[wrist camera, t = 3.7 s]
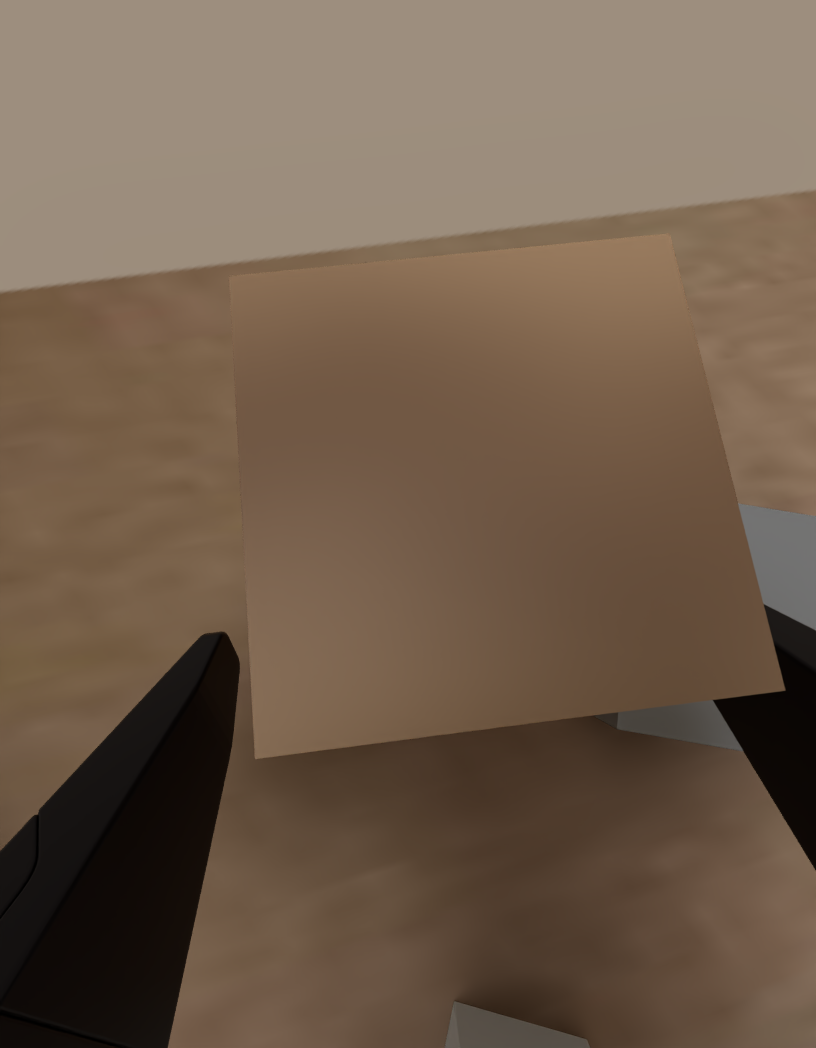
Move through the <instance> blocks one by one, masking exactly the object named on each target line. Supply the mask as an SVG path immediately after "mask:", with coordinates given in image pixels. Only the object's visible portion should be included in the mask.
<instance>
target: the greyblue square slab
mask: <svg viewBox="0 0 816 1048" xmlns="http://www.w3.org/2000/svg"><path fill="white" fill-rule="evenodd" d="M738 505H739V509H740V513H741V517H742V521H743V525H744V529H745V533H746V537H747V541H748V545H749V549H750V553H751V556H752V560H753V564H754V568H755V572H756V576H757V580H758V584H759V588H760V592H761V596H762V600H763V604H765V605H767V606H769V607H771V608H773V609H775V610H777V611H779V612H781V613H783V614H785V615H787V616H789V617H791V618H793V619H795V620H797V621H799V622H801V623H802V624H804V625H806V626H808V627H810V628H812V629H814V630H816V516H811V515H805V514H799V513H793V512H787V511H780V510H774V509H768V508H762V507H756V506H750V505H744V504H738ZM593 716H595V717H597V718H598V719H600V720H602V721H603V722H605V723H607V724H609V725H610V726H612V727H614V728H616V729H618V730H624V731H630V732H635V733H641V734H647V735H653V736H658V737H664V738H670V739H675V740H681V741H687V742H693V743H698V744H704V745H710V746H715V747H721V748H727V749H733V750H738V751H743V750H742V748H741V746H740V745H739V743H738V741H737V740H736V738H735V736H734V735H733V733H732V732H731V730H730V728H729V727H728V725H727V723H726V722H725V720H724V718H723V717H722V715H721V713H720V712H719V710H718V708H717V707H716V705H715V703H714V702H713V700H709V701H701V702H693V703H686V704H678V705H670V706H662V707H655V708H647V709H639V710H631V711H624V712H616V713H608V714H600V715H593Z"/></svg>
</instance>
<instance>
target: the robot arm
mask: <svg viewBox="0 0 816 1048" xmlns="http://www.w3.org/2000/svg"><path fill="white" fill-rule="evenodd" d="M764 608H765V612H766V616H767V620H768V624H769V628H770V631H771V635H772V639H773V643H774V647H775V651H776V655H777V659H778V663H779V667H780V671H781V675H782V679H783V683H784V687H785V691H779V692H771V693H763V694H755V695H748V696H740V697H732V698H724V699H717V700H713V702H714V703H715V705H716V707H717V708H718V710H719V712H720V713H721V715H722V717H723V718H724V720H725V722H726V723H727V725H728V727H729V728H730V730H731V732H732V733H733V735H734V736H735V738H736V740H737V741H738V743H739V745H740V746H741V748H742V750H743V751H744V753H745V755H746V756H747V758H748V760H749V761H750V763H751V765H752V766H753V768H754V769H755V771H756V773H757V774H758V776H759V778H760V779H761V781H762V783H763V784H764V786H765V788H766V789H767V791H768V793H769V794H770V796H771V798H772V799H773V801H774V802H775V804H776V806H777V807H778V809H779V811H780V812H781V814H782V816H783V817H784V819H785V821H786V822H787V824H788V826H789V827H790V829H791V831H792V832H793V834H794V835H795V837H796V839H797V840H798V842H799V844H800V845H801V847H802V849H803V850H804V852H805V854H806V855H807V857H808V859H809V860H810V862H811V864H812V865H813V867H814V868H815V870H816V630H814V629H812V628H810V627H808V626H806V625H804V624H802V623H801V622H799V621H797V620H795V619H793V618H791V617H789V616H787V615H785V614H783V613H781V612H779V611H777V610H775V609H773V608H771V607H769V606H767V605H765V604H764ZM239 673H240V663H239V658H238V656H237V654H236V651H235V649H234V647H233V645H232V643H231V641H230V639H229V636H228V635H227V634H226V633H225V632H215V633H207V634H204V635H202V636H201V637H200V638H199V639H198V640H197V641H196V642H195V643H194V644H193V645H192V646H191V647H190V648H189V649H188V650H187V651H186V653H185V654H184V655H183V656H182V657H181V658H180V659H179V660H178V661H177V662H176V663H175V664H174V665H173V666H172V668H171V669H170V670H169V671H168V672H167V673H166V674H165V675H164V676H163V677H162V678H161V679H160V680H159V682H158V683H157V684H156V685H155V686H154V687H153V688H152V689H151V690H150V691H149V692H148V693H147V694H146V695H145V697H144V698H143V699H142V700H141V701H140V702H139V703H138V704H137V705H136V706H135V707H134V708H133V709H132V711H131V712H130V713H129V714H128V715H127V716H126V717H125V718H124V719H123V720H122V721H121V722H120V723H119V725H118V726H117V727H116V728H115V729H114V730H113V731H112V732H111V733H110V734H109V735H108V736H107V737H106V738H105V740H104V741H103V742H102V743H101V744H100V745H99V746H98V747H97V748H96V749H95V750H94V751H93V752H92V754H91V755H90V756H89V757H88V758H87V759H86V760H85V761H84V762H83V763H82V764H81V765H80V766H79V767H78V769H77V770H76V771H75V772H74V773H73V774H72V775H71V776H70V777H69V778H68V779H67V780H66V781H65V783H64V784H63V785H62V786H61V787H60V788H59V789H58V790H57V791H56V792H55V793H54V794H53V795H52V797H51V798H50V799H49V800H48V801H47V802H46V803H45V804H44V805H43V806H42V807H41V808H40V810H39V813H38V814H37V815H34V816H33V817H32V818H31V819H30V820H29V821H28V822H27V823H26V824H25V825H24V826H23V827H22V829H21V830H20V831H19V832H18V833H17V834H16V835H15V836H14V837H13V838H12V839H11V840H10V841H9V842H8V843H7V844H6V846H5V847H4V848H3V849H2V850H1V851H0V1048H168V1044H169V1039H170V1034H171V1030H172V1025H173V1020H174V1016H175V1011H176V1006H177V1002H178V997H179V992H180V988H181V983H182V978H183V973H184V969H185V964H186V959H187V955H188V950H189V945H190V941H191V936H192V931H193V927H194V922H195V917H196V913H197V908H198V903H199V899H200V894H201V889H202V885H203V880H204V875H205V871H206V866H207V861H208V857H209V852H210V847H211V843H212V838H213V833H214V829H215V824H216V819H217V815H218V810H219V805H220V801H221V796H222V791H223V787H224V782H225V777H226V773H227V768H228V763H229V758H230V753H231V748H232V741H233V732H234V722H235V712H236V702H237V692H238V682H239Z"/></svg>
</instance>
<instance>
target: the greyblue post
mask: <svg viewBox="0 0 816 1048" xmlns="http://www.w3.org/2000/svg"><path fill="white" fill-rule="evenodd" d="M445 1048H590V1046H589V1044H588V1041H587V1039H584V1038H580V1037H577V1036H573V1035H570V1034H566V1033H563V1032H560V1031H556V1030H553V1029H549V1028H546V1027H542V1026H539V1025H535V1024H532V1023H528V1022H525V1021H521V1020H518V1019H514V1018H511V1017H508V1016H504V1015H501V1014H497V1013H494V1012H490V1011H487V1010H483V1009H480V1008H476V1007H473V1006H469V1005H466V1004H462V1003H459V1002H456V1001H454V1003H453V1008H452V1013H451V1018H450V1023H449V1028H448V1033H447V1038H446V1043H445Z"/></svg>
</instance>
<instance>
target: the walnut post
mask: <svg viewBox="0 0 816 1048" xmlns="http://www.w3.org/2000/svg"><path fill="white" fill-rule="evenodd" d="M229 287H230V305H231V324H232V342H233V361H234V380H235V398H236V417H237V435H238V454H239V472H240V491H241V509H242V528H243V546H244V565H245V584H246V602H247V621H248V639H249V658H250V676H251V695H252V713H253V732H254V750H255V759H259V758H267V757H275V756H283V755H290V754H298V753H306V752H314V751H321V750H329V749H337V748H345V747H352V746H360V745H368V744H376V743H383V742H391V741H399V740H407V739H414V738H422V737H430V736H438V735H445V734H453V733H461V732H469V731H476V730H484V729H492V728H500V727H507V726H515V725H523V724H531V723H538V722H546V721H554V720H562V719H569V718H577V717H585V716H593V715H600V714H608V713H616V712H624V711H631V710H639V709H647V708H655V707H662V706H670V705H678V704H686V703H693V702H701V701H709V700H717V699H724V698H732V697H740V696H748V695H755V694H763V693H771V692H779V691H785V687H784V683H783V679H782V675H781V671H780V667H779V663H778V659H777V655H776V651H775V647H774V643H773V639H772V635H771V631H770V628H769V624H768V620H767V616H766V612H765V608H764V604H763V600H762V596H761V592H760V588H759V584H758V580H757V576H756V572H755V568H754V564H753V560H752V556H751V553H750V549H749V545H748V541H747V537H746V533H745V529H744V525H743V521H742V517H741V513H740V509H739V505H738V501H737V497H736V493H735V489H734V485H733V481H732V477H731V474H730V470H729V466H728V462H727V458H726V454H725V450H724V446H723V442H722V438H721V434H720V430H719V426H718V422H717V418H716V414H715V410H714V406H713V402H712V399H711V395H710V391H709V387H708V383H707V379H706V375H705V371H704V367H703V363H702V359H701V355H700V351H699V347H698V343H697V339H696V335H695V331H694V327H693V324H692V320H691V316H690V312H689V308H688V304H687V300H686V296H685V292H684V288H683V284H682V280H681V276H680V272H679V268H678V264H677V260H676V256H675V252H674V249H673V245H672V241H671V237H670V233H669V234H659V235H648V236H638V237H628V238H617V239H607V240H597V241H586V242H576V243H565V244H555V245H545V246H534V247H524V248H514V249H503V250H493V251H483V252H472V253H462V254H451V255H441V256H431V257H420V258H410V259H400V260H389V261H379V262H369V263H358V264H348V265H337V266H327V267H317V268H306V269H296V270H286V271H275V272H265V273H255V274H244V275H234V276H229Z"/></svg>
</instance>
